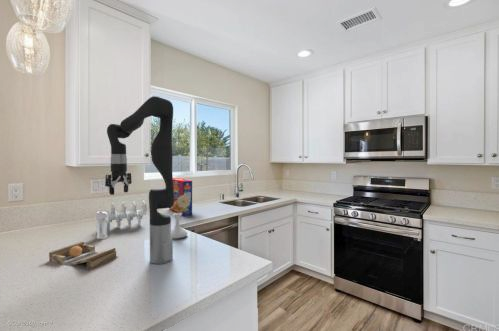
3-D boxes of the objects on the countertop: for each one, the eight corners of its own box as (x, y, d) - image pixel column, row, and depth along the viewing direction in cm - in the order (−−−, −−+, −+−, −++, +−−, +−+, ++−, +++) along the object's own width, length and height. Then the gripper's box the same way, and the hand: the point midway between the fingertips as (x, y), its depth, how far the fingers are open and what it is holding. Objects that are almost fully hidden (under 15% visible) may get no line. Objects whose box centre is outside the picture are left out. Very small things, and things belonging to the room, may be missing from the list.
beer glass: (112, 236, 146) (112, 211, 145) (102, 240, 139) (102, 213, 138) (102, 235, 148) (102, 210, 147) (92, 238, 141) (92, 213, 140)
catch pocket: (94, 251, 122) (94, 243, 122) (62, 264, 108) (62, 255, 108) (82, 249, 125) (82, 241, 125) (49, 261, 111) (49, 252, 111)
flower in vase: (166, 241, 139) (166, 197, 138) (167, 234, 150) (167, 194, 149) (190, 239, 142) (190, 196, 141) (189, 233, 153) (190, 193, 152)
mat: (119, 257, 116) (119, 255, 116) (88, 271, 102) (88, 269, 102) (82, 249, 125) (82, 248, 125) (49, 261, 111) (49, 259, 111)
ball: (83, 256, 118) (76, 252, 119) (85, 247, 117) (78, 242, 118) (72, 260, 113) (65, 256, 115) (74, 250, 112) (67, 246, 114)
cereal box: (169, 209, 217) (169, 178, 216) (177, 208, 222) (177, 178, 221) (182, 216, 196) (182, 181, 195) (192, 214, 201) (192, 180, 200)
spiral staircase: (105, 234, 162) (146, 227, 174) (103, 229, 147) (148, 222, 159) (103, 207, 167) (143, 202, 179) (102, 200, 153) (145, 195, 165)
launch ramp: (116, 260, 115) (116, 248, 115) (91, 271, 104) (91, 258, 103) (95, 255, 120) (95, 244, 119) (69, 265, 108) (69, 253, 108)
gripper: (124, 162, 137) (124, 191, 138) (101, 162, 124) (101, 194, 124) (135, 162, 134) (135, 192, 135) (112, 163, 121) (112, 196, 122)
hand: (119, 193), depth 130 cm, fingers open, 8 cm apart
